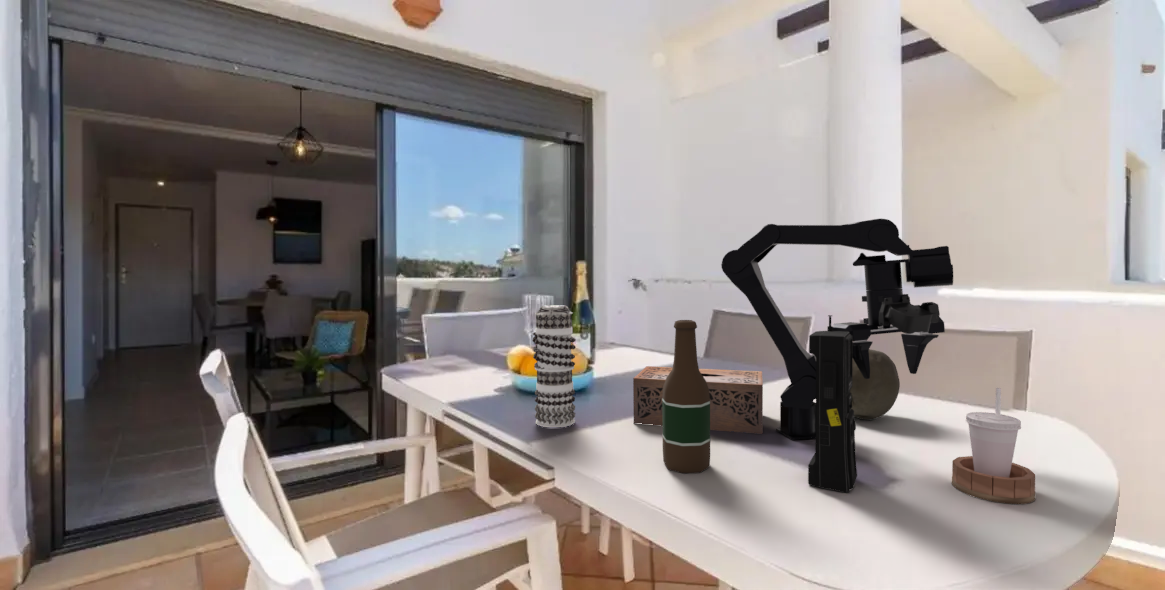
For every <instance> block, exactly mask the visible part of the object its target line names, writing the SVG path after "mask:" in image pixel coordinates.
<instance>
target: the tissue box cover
mask: <svg viewBox="0 0 1165 590" xmlns="http://www.w3.org/2000/svg"><path fill="white" fill-rule="evenodd" d="M672 368H673V366H672V367H670V366H650V365H648V366H645V367H644V368H643V369H642V370H641V371H640V372H639V373H638V374H636V375H635V376H634V377H633V378H632V380H633V382H632V384H633V386H632V387H633V389H632V390H633V397H632V399H633V404H632V405H633V424H634V423H642V424H653V425H652V426H654V425H661V426H660V427H663V425H662V395H663V386H664V383H665V380H666V378H667V376H668V375H669V373H670V372H671V370H672ZM699 371H700V373H701V374H702V376H703V377H704V379H705V380H706V383H707V386H708V388H709V395H710V431H718V432H719V431H723V432H731V431H734V432H733V433H743V432H746V434H756V433H757V435H763V431H764V429H763V426H764V424H763V419H764V417H763V416H764V415H763V412H764V411H763V408H764V406H763V403H764V400H763V399H764V397H763V396H764V395H763V392H764V391H763V390H764V388H763V387H764V386H763V385H764V384H763V383H764V381H763V371H761V370H760V371H759V370H739V369H738V370H737V369H734V370H733V369H716V368H715V369H714V368H699ZM642 424H641V425H642Z"/></svg>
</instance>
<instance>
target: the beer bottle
mask: <svg viewBox="0 0 1165 590" xmlns="http://www.w3.org/2000/svg"><path fill="white" fill-rule="evenodd" d="M673 328H674V329H675V334H674V335H675V336H674V353H673V354H674V355H673V362H672V363H673V364H672V367H673V368H672V370H671V372H670V373H669V375H668V376H667V378H666V380H665V383H664V386H663V395H662V425H663V426H662V459H663V462H664V464H665V465H664V466H665V467H666V469H667V470H669V471H673V472H677V473H681V474H700V473H702V472H703V471H705V470H707V469H709V468H710V466H711V464H710V463H711V430H710V395H709V388H708V386H707V383H706V380H705V379H704V377H703V376H702V374H701V373H700V371H699V369H700V367H699V363H698V353H697V350H698V349H697V334H696V329H697V328H698V325H697V322H696V321H695V320H692V319H691V320H690V319H679V320H676V321H674V324H673Z"/></svg>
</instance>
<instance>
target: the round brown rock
mask: <svg viewBox="0 0 1165 590" xmlns="http://www.w3.org/2000/svg"><path fill="white" fill-rule="evenodd" d="M869 362H870V379H865V378H864V377H863V375H862V374H861V372H860V370H859V368H858V367H857V365H856V363H855V361H854V360H853V373H852V388H851V390H850V392H851V393H852V408H851V409H852V410H854V418H856V419H860V420H863V421H864V420H867V421H870V420H876V419H878V418H881V417H883V416H884V415H885V414H887V413H888V412H889V411H890V410H891V409H892V408H893V406H894V405H895V403H896V401H897V399H898V396H899V392H900V387H901V385H900V377H899V372H898V368H897V367H896V364H895V362H894V361H893V359H891V357H890V356H889V355H887V354H886V353H885V352H883V351H880V350H875V349H871V348H869Z"/></svg>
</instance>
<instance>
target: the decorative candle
mask: <svg viewBox="0 0 1165 590" xmlns="http://www.w3.org/2000/svg"><path fill="white" fill-rule="evenodd" d="M534 314H535V321H536V322H535V331H534V332H532V333H531V334H532V335H533V336H534V337H532V339H531V340H532V343H534V344H536V345H535V346H534V347H533V349H532V351H533V352H534V354H533V359H534V360H535V361H536V362H535V363H534V366H533V367H534V370H535V371H536V383H535V384H536V385H535V386H536V390H535V391H534V395H535V396H536V397H535V399H534V402H536V404H535V407H534V411H535V415H534V418H535V419H536V420H535V425H536V424H537V425H540V426H543V427H565V428H567V427H566V426H569V425H572V424H573V423H575V422H576V420H575V418H576V412H575V410H576V405H575V404H574V402H575V400H576V398H575V396H573V395H575V393H576V390H575V389H574V380H573V370H575V366H576V362H574V361H573V360H574V359H575V358H576V355H575V354H574V353H572V350H575V349H576V345H574V343H575V342H576V338H575V337H573V336H572V335H573V326H572V325H573V324H572V322H573V321H572V314H573V312H572V311H571V310H570V308H569V307H568V306H567V305H563V304H562V305H561V304H559V305H558V304H555V305H554V304H552V305H551V304H550V305H542V306H540V307H539V308H538V311H537V312H535V313H534ZM575 424H576V423H575ZM537 425H536V426H537ZM573 425H574V424H573ZM573 425H572V426H573ZM543 427H542V428H543ZM569 427H570V426H569Z"/></svg>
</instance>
